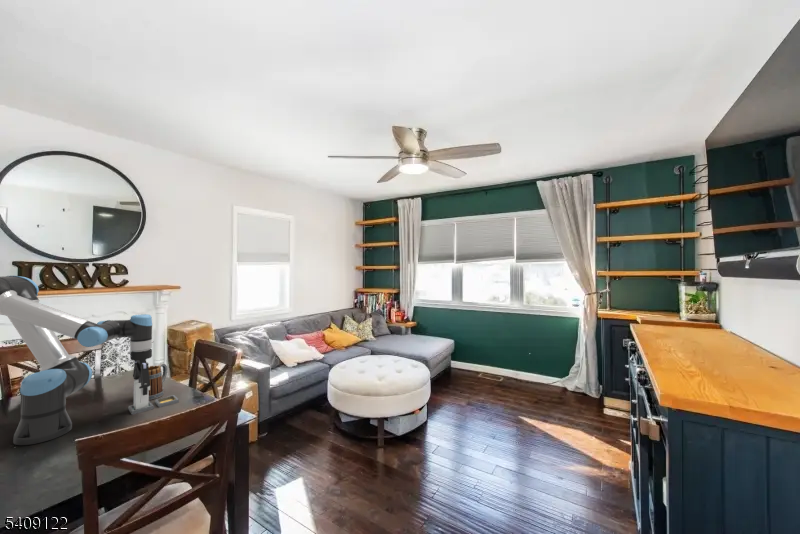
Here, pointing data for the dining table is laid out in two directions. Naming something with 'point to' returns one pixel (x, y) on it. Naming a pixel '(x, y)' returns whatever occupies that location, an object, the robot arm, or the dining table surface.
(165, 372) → the mug
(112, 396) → the dining table surface
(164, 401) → the panel
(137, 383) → the plug
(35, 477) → the dining table surface
